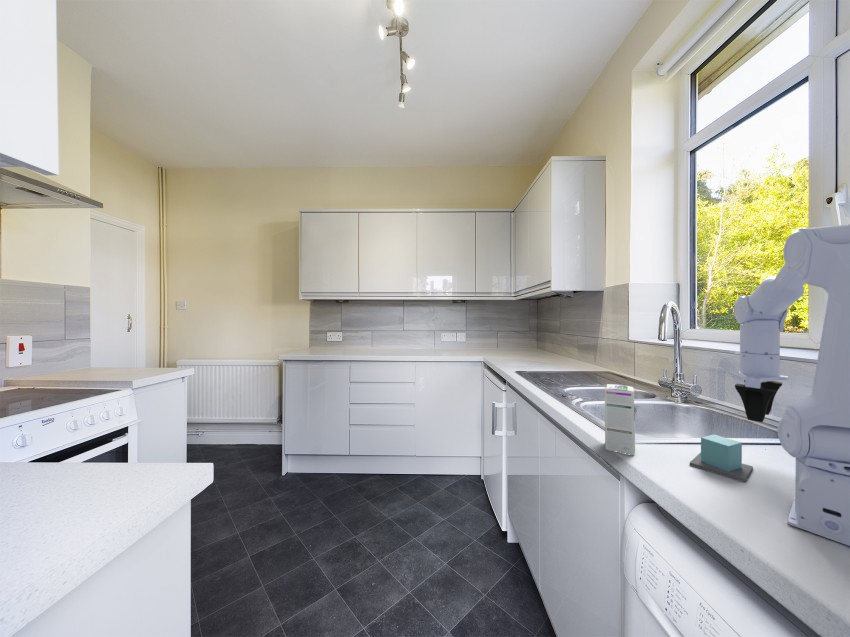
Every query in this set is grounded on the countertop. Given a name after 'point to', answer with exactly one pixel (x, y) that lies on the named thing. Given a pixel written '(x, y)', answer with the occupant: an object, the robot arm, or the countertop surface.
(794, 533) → the countertop surface
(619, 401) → the syrup box
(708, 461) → the teal block
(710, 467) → the mat
